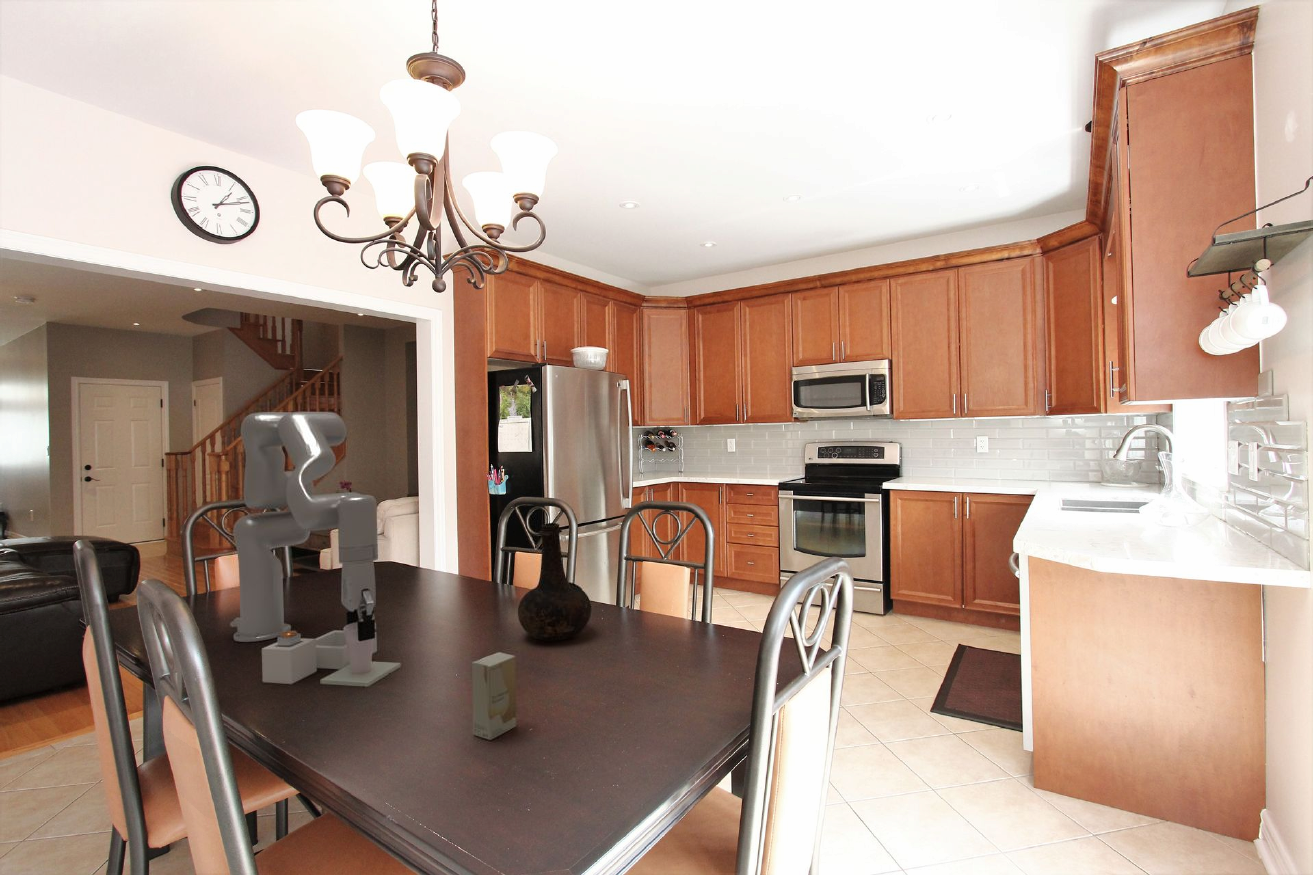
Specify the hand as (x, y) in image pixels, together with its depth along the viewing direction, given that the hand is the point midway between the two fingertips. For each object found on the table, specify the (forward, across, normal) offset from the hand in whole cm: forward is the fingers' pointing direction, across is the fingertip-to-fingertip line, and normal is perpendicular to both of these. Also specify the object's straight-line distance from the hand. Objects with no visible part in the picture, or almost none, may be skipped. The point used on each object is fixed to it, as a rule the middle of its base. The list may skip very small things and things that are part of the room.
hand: (360, 633), depth 132 cm
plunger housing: (+9, -10, -12) cm, 18 cm away
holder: (+9, -14, -2) cm, 17 cm away
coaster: (+9, 0, 0) cm, 9 cm away
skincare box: (+9, +43, +11) cm, 45 cm away
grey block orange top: (+6, -10, -12) cm, 16 cm away
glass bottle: (+9, +5, +44) cm, 45 cm away
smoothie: (+8, 0, 0) cm, 8 cm away
